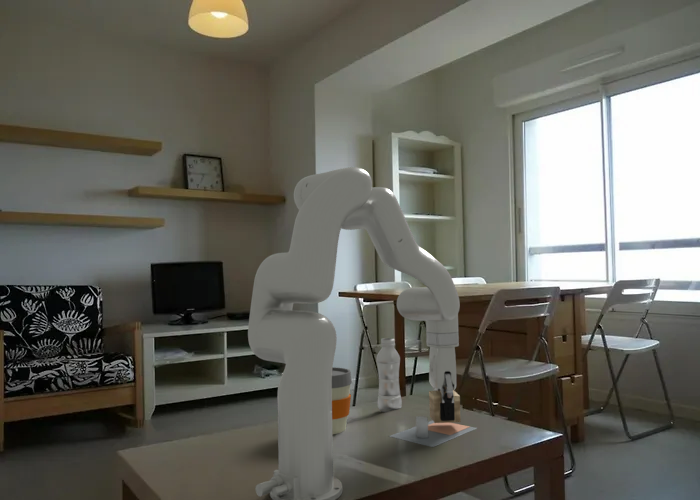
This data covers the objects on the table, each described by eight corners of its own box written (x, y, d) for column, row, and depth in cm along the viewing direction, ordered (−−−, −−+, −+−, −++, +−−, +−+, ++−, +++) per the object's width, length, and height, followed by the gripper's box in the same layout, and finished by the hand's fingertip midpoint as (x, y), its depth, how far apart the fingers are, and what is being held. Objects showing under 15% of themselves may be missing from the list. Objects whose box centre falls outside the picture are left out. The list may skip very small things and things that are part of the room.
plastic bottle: (400, 415, 145) (398, 340, 146) (375, 414, 147) (374, 340, 147) (403, 409, 152) (401, 337, 152) (379, 409, 153) (377, 337, 154)
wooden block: (434, 423, 125) (433, 396, 125) (429, 416, 131) (429, 391, 131) (460, 422, 125) (459, 395, 125) (454, 415, 131) (453, 390, 131)
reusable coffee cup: (361, 439, 125) (359, 373, 126) (309, 446, 121) (307, 378, 121) (341, 425, 137) (340, 365, 138) (293, 431, 132) (292, 369, 133)
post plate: (433, 454, 114) (432, 426, 114) (388, 442, 122) (388, 417, 122) (477, 434, 127) (477, 409, 127) (435, 425, 135) (434, 402, 135)
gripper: (421, 335, 137) (423, 407, 136) (433, 344, 120) (435, 427, 119) (450, 335, 137) (452, 407, 137) (466, 343, 120) (469, 426, 119)
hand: (444, 415), depth 128 cm, fingers closed on wooden block, 6 cm apart
